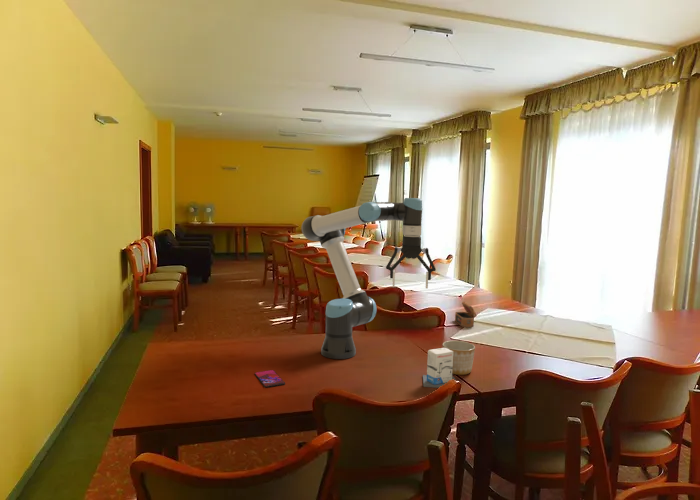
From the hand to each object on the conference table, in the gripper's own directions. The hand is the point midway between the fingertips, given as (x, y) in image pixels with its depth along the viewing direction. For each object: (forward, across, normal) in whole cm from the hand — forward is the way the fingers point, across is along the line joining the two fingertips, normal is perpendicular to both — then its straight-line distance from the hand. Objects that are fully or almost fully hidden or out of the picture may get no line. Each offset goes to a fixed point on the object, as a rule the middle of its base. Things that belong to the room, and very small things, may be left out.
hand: (410, 287), depth 192 cm
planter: (+32, +20, -7) cm, 38 cm away
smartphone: (+32, -51, -29) cm, 67 cm away
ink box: (+31, +12, -21) cm, 40 cm away
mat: (+32, +12, -21) cm, 40 cm away
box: (+32, +31, +66) cm, 80 cm away
